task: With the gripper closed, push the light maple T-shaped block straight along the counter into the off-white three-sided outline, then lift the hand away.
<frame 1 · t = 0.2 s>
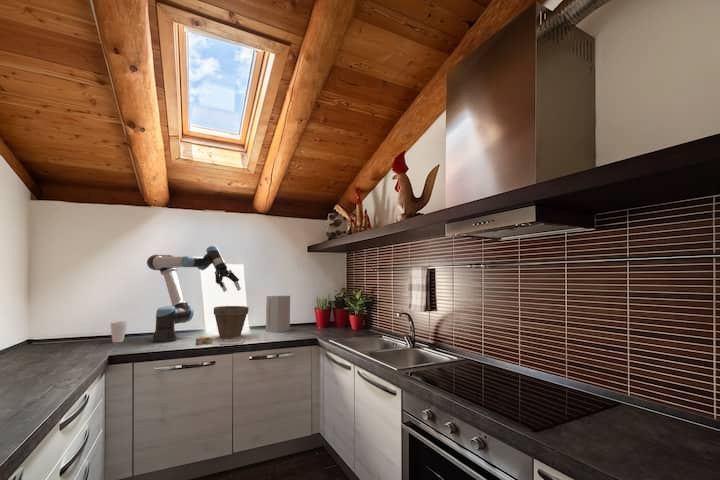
hand: (232, 290, 253), 35 cm above the worktop, tool tilted 35°, fingers open, 13 cm apart
grey faceted cylinder: (278, 331, 297), on the worktop
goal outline: (232, 342, 248), on the worktop
plant pot: (230, 336, 273), on the worktop
t block: (204, 343, 246), on the worktop
foam cup: (117, 341, 253), on the worktop
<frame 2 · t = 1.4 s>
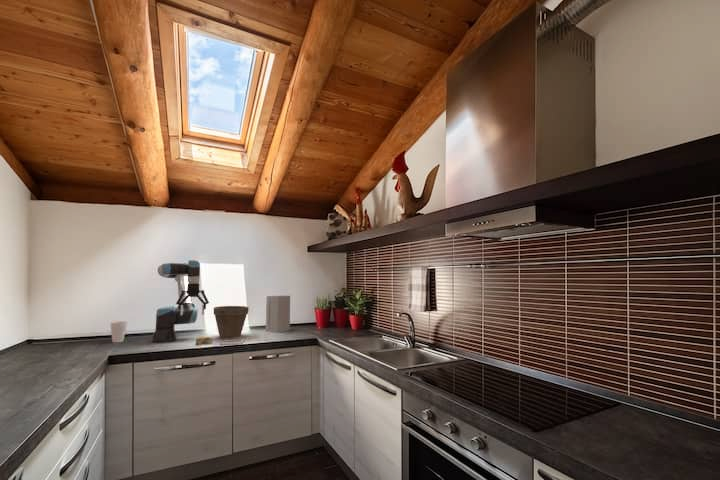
hand: (192, 314, 247), 19 cm above the worktop, tool pointing down, fingers open, 13 cm apart
nothing on the worktop moved.
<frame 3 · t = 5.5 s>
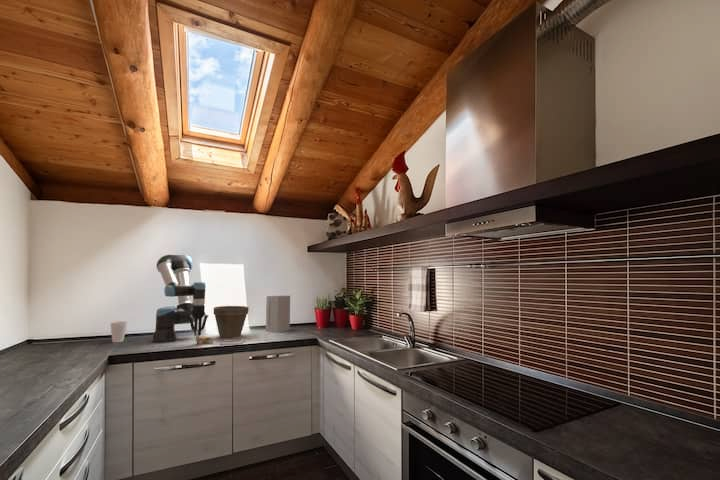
hand: (197, 340, 245), 2 cm above the worktop, tool pointing down, fingers closed
t block: (205, 343, 246), on the worktop, touching gripper
everything else where it was.
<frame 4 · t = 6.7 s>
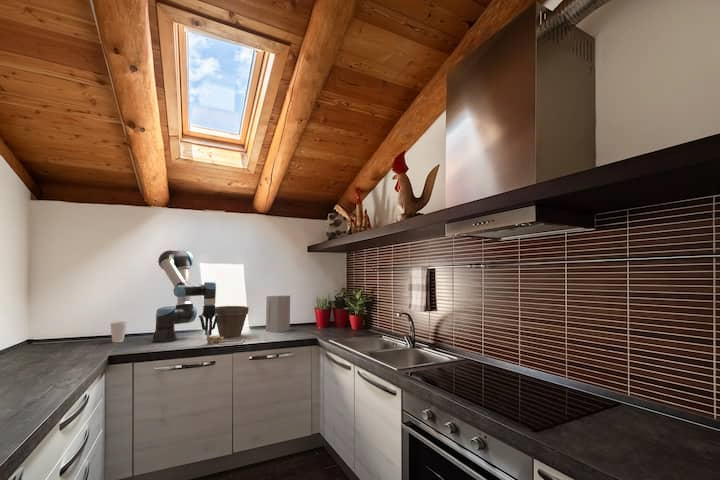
hand: (208, 340, 246), 2 cm above the worktop, tool pointing down, fingers closed
t block: (216, 343, 247), on the worktop, touching gripper
everything else where it was.
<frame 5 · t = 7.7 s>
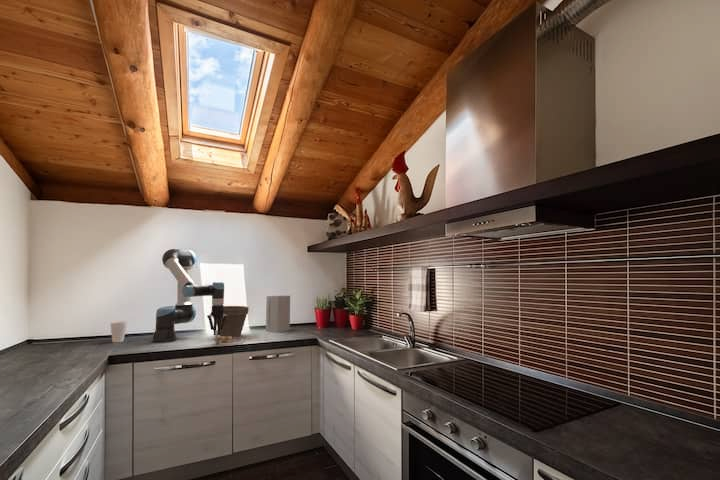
hand: (216, 340, 247), 2 cm above the worktop, tool pointing down, fingers closed
t block: (224, 343, 248), on the worktop, touching gripper
everything else where it was.
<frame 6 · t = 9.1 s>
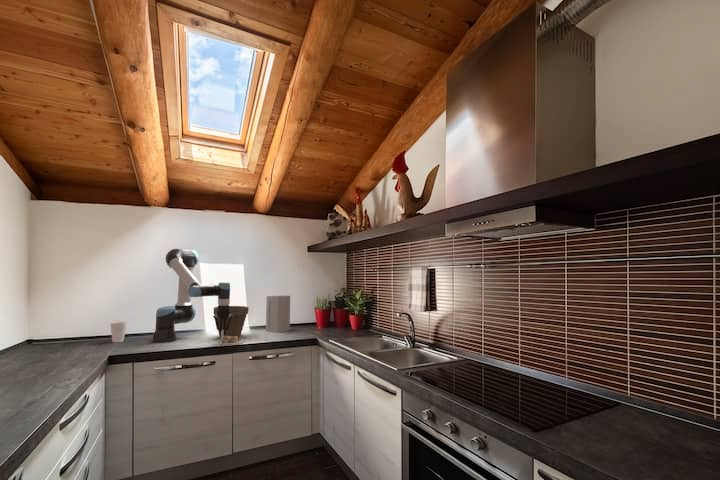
hand: (222, 340, 248), 2 cm above the worktop, tool pointing down, fingers closed
t block: (230, 342, 248), on the worktop, touching gripper
everything else where it was.
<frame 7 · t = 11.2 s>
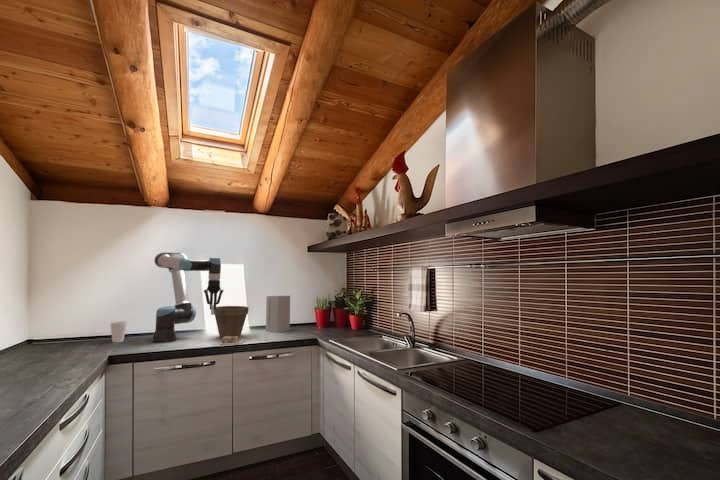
hand: (212, 314, 250), 19 cm above the worktop, tool pointing down, fingers closed
t block: (230, 342, 248), on the worktop
everything else where it was.
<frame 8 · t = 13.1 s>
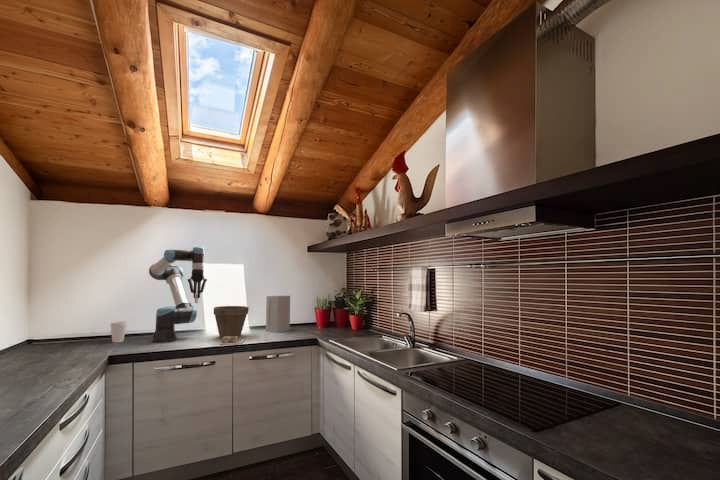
hand: (196, 302, 256), 26 cm above the worktop, tool pointing down, fingers closed
nothing on the worktop moved.
at the end: t block 0.2 cm from the target spot on the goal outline, point 0.0 cm above the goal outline's base; t block tilted 0° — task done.
